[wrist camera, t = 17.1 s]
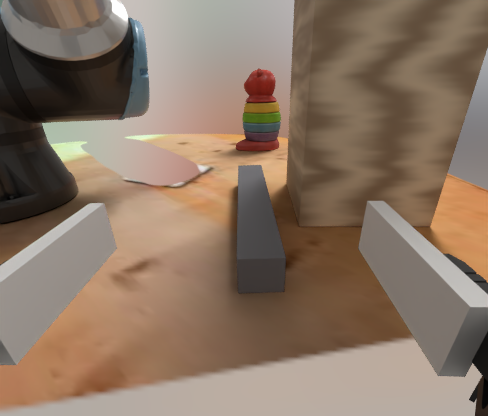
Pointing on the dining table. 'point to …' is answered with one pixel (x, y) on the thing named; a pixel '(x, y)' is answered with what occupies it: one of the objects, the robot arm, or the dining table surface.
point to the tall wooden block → (378, 104)
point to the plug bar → (257, 236)
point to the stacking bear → (260, 113)
